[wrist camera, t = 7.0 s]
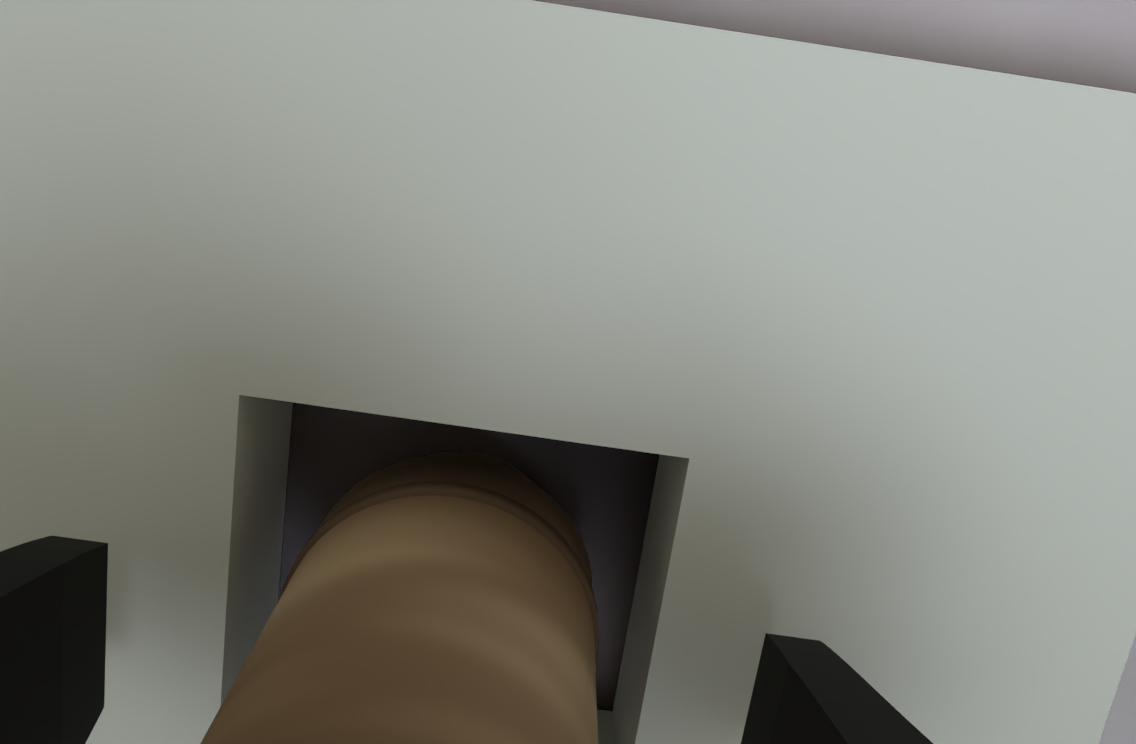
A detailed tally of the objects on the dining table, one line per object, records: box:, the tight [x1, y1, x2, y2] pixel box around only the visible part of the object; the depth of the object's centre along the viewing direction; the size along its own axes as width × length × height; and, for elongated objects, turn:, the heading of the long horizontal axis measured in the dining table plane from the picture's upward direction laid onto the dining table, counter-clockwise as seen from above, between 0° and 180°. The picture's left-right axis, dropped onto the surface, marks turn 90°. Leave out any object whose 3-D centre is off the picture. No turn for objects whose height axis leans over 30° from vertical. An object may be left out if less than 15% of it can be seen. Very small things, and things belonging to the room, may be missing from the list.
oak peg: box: [200, 451, 599, 744], centre depth 11 cm, size 4×4×7 cm
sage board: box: [0, 0, 1136, 744], centre depth 14 cm, size 16×14×2 cm
